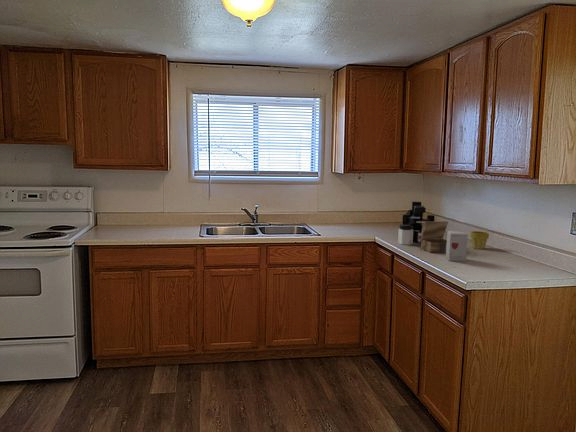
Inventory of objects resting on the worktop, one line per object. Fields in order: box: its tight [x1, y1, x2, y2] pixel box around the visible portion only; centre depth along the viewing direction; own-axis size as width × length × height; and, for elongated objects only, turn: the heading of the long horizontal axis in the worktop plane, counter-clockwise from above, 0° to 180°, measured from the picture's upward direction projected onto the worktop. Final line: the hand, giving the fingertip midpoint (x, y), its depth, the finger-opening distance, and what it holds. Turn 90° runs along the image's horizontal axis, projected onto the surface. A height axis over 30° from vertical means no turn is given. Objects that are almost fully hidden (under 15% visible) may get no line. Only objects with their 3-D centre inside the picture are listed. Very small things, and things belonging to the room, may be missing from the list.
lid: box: [420, 220, 449, 239], centre depth 288 cm, size 12×14×1 cm
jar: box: [397, 223, 414, 246], centre depth 306 cm, size 9×8×12 cm
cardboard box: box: [420, 238, 447, 254], centre depth 285 cm, size 12×14×6 cm
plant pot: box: [469, 230, 490, 250], centre depth 295 cm, size 10×10×10 cm
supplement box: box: [445, 230, 469, 263], centre depth 261 cm, size 9×9×15 cm
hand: (420, 221), depth 287 cm, fingers open, 9 cm apart
